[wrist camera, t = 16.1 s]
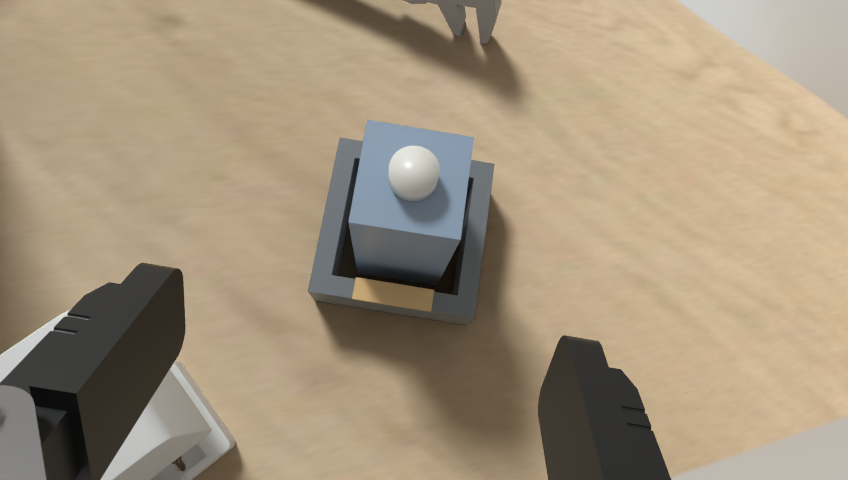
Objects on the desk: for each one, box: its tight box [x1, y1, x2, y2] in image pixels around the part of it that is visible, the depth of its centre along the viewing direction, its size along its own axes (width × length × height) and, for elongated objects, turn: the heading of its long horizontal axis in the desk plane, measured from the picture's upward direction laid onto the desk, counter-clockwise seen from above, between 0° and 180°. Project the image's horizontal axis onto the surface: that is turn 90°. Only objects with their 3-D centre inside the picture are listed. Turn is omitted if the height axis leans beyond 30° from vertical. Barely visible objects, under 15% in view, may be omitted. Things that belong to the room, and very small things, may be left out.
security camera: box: [0, 310, 235, 480], centre depth 25 cm, size 6×7×10 cm
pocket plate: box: [308, 138, 494, 325], centre depth 32 cm, size 8×8×3 cm
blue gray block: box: [348, 120, 474, 286], centre depth 28 cm, size 4×4×11 cm
